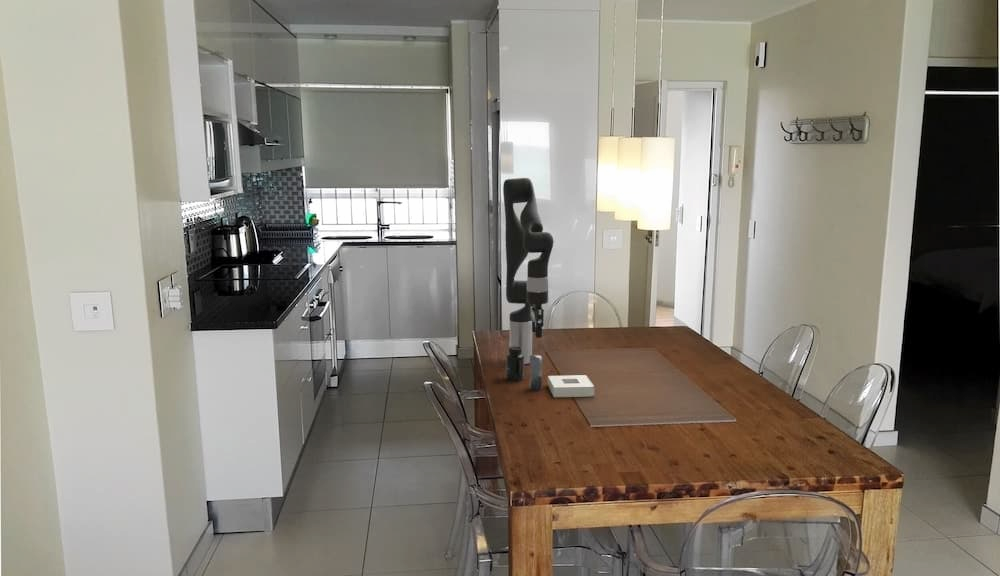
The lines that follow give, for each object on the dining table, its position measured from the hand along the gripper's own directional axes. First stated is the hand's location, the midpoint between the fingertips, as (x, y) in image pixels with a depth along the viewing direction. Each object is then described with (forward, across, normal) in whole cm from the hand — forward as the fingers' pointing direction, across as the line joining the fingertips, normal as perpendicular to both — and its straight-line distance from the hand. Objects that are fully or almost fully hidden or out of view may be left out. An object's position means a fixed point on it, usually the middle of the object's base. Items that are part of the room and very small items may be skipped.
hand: (536, 334), depth 256 cm
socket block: (+20, +3, +12) cm, 23 cm away
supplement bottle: (+20, -13, -6) cm, 25 cm away
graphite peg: (+20, 0, 0) cm, 20 cm away
